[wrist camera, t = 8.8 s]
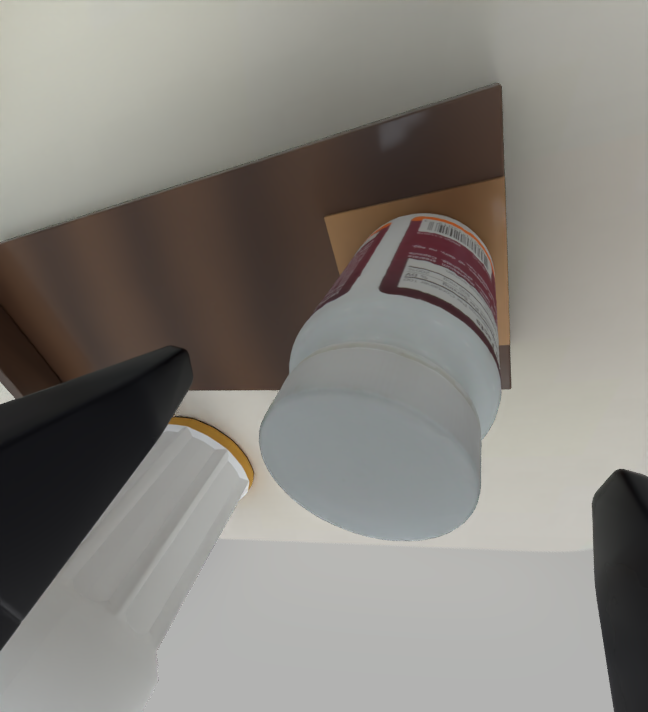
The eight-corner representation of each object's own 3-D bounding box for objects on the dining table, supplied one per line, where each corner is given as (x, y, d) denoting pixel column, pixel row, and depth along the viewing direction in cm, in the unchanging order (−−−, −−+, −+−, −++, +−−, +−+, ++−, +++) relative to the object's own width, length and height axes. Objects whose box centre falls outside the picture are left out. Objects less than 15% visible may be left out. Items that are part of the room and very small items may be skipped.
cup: (143, 456, 35) (-63, 684, 22) (150, 381, 28) (-155, 659, 15) (248, 515, 35) (104, 781, 22) (283, 457, 27) (97, 807, 14)
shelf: (499, 81, 12) (504, 86, 8) (508, 347, 17) (514, 434, 13) (2, 241, 24) (-96, 275, 20) (92, 366, 29) (28, 414, 25)
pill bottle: (376, 346, 15) (296, 540, 9) (337, 232, 13) (193, 383, 7) (505, 329, 13) (522, 573, 7) (485, 188, 11) (480, 352, 4)
